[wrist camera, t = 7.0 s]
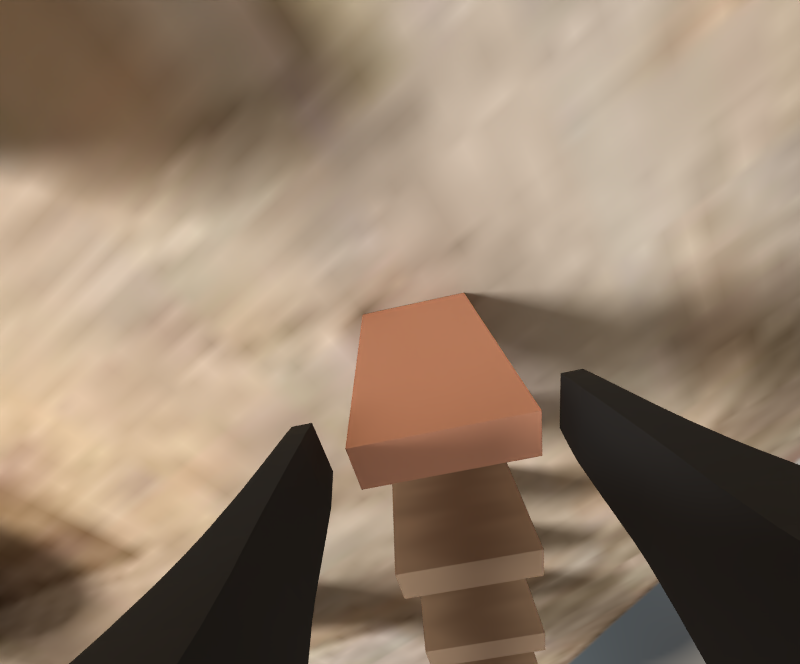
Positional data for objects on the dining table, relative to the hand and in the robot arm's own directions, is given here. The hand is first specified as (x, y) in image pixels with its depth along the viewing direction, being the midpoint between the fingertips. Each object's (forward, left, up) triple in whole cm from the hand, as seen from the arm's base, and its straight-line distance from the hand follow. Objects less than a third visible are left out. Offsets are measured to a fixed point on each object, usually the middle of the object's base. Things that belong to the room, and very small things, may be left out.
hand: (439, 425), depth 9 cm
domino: (0, -6, -8) cm, 10 cm away
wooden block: (0, -12, -8) cm, 14 cm away
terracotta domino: (0, 0, -8) cm, 8 cm away
